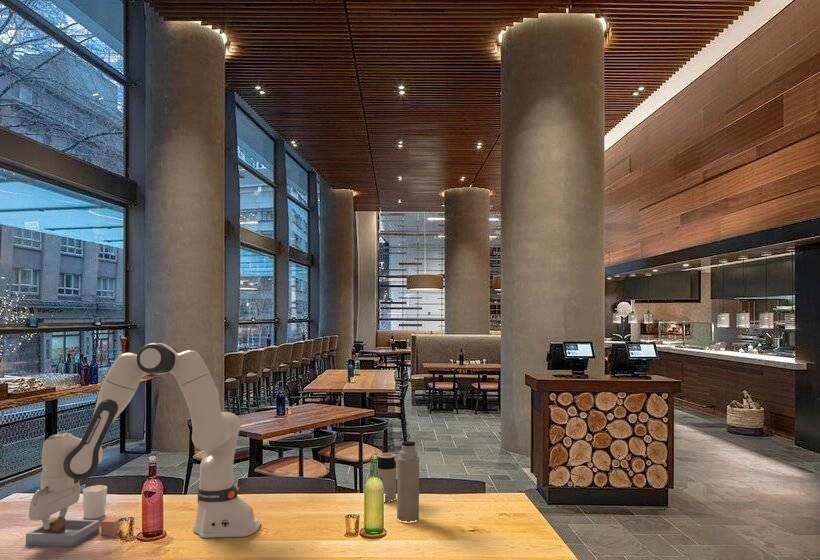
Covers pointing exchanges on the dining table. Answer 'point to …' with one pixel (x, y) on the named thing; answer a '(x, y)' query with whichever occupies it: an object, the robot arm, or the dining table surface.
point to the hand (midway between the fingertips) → (54, 525)
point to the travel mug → (388, 474)
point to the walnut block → (56, 526)
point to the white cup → (94, 501)
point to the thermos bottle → (408, 483)
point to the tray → (64, 534)
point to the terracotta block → (110, 526)
